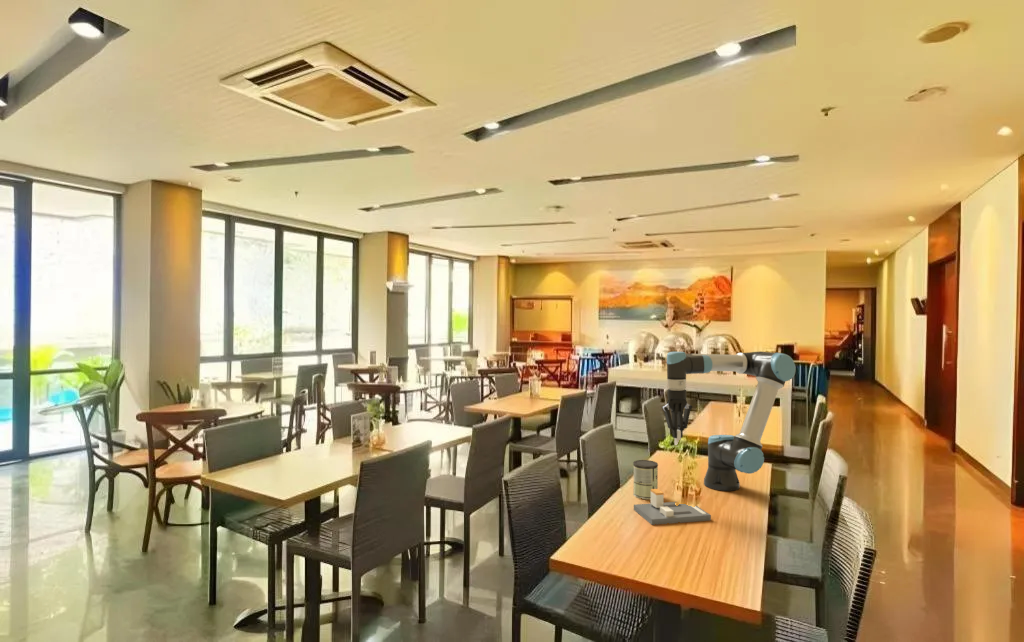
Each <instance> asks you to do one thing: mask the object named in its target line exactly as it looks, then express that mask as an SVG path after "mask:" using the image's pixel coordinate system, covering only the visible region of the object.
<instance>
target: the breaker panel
mask: <svg viewBox="0 0 1024 642" xmlns="http://www.w3.org/2000/svg"><path fill="white" fill-rule="evenodd" d="M675 502H676V501H668V502H663V507H660V508H656V507H654V506H653V505H652V504H651V502H650V503H640V504H639V503H638V504H637V503H636V504H633V511H635V512H636V513H637V514H638V515H639V514H640V517H642V518H643V519H644V520H645V521H647V522H648V523H649V524H650V525H652V526H654V525H655V524H656V525H667V523H669V524H681V523H693V522H706V521H711V520H712V519H711V517H712V515H711V514H710V513H709V512H707V511H705V510H704V509H702V508H701V507H699V506H698V505H696V506H695V507H692V506H688V505H686V504H679V505H678V506H676V505H675ZM678 522H680V523H678Z"/></svg>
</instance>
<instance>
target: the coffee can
mask: <svg viewBox="0 0 1024 642" xmlns="http://www.w3.org/2000/svg"><path fill="white" fill-rule="evenodd" d="M632 465H633V497H634V498H637V499H640V498H642V499H641V500H651V489H659V488H658V480H659V479H658V477H659V476H658V469H659V468H658V466H659V464H658V462H657V461H654V460H649V459H638V460H634V461H633V464H632Z"/></svg>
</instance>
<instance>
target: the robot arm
mask: <svg viewBox="0 0 1024 642" xmlns="http://www.w3.org/2000/svg"><path fill="white" fill-rule="evenodd" d="M796 369H797V368H796V363H795V362H794V360H793V358H792V357H791V356H790V355H788V354H786V353H782V352H771V351H770V352H769V351H749V352H737V353H736V354H719V353H717V354H715V353H714V354H713V353H711V354H710V353H686V352H685V351H668V352H667V354H666V375H667V378H666V379H667V380H666V382H667V383H666V384H667V388H668V389H667V390H666V391H667V401H666V404H665V405H663V406H661V409H662V411H663V412H664V413H663V414H664V416H665V421H666V424H667V428H668V429H669V430H672V438H673V440H674V442H673V443H674V446H675V445H677V444H678V442H679V440H681V441H682V438H683V435H684V434H683V431H685V429H687V428H688V424H689V419H690V414H691V410H692V408H693V405H691V404H690V403H688V401H687V390H686V389H687V375H690V374H691V375H693V374H708V373H710V372H735V373H737V374H740V375H743V374H744V375H749V376H754V377H755V379H756V381H757V383H756V387H755V390H754V393H753V395H752V397H751V401H750V404H749V406H748V409H747V412H746V415H745V417H744V420H743V424H742V426H741V429H740V431H739V433H738V434H735V435H731V434H713V435H710V436H709V437H708V441H707V465H708V466H707V468H706V469H707V470H706V473H705V475H704V478H703V485H704V486H705V487H706V488H709V489H713V490H715V491H716V490H717V491H724V492H733V491H738V490H739V489H740V488H741V487H740V480H739V476H738V474H737V471H738V472H739V473H744V474H755V473H757V472H758V471H759V470H760V469H761V468H762V467H763V464H764V462H765V456H764V452H763V451H762V449H763V444H762V442H761V440H762V438H763V437H762V436H763V435H764V431H765V429H766V426H767V424H768V420H769V417H770V414H771V411H772V409H773V406H774V404H775V400H776V398H777V395H778V392H779V390H780V389H782V388H784V387H785V384H786V382H789V381H790V380H792V379H793V378H794V376H795V375H796Z"/></svg>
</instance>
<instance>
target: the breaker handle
mask: <svg viewBox="0 0 1024 642" xmlns="http://www.w3.org/2000/svg"><path fill="white" fill-rule="evenodd" d="M664 493H665V492H663V491H661V490H660V489H659V488H658V489H651V499H650V503H651V504H652V505H653V506H654V507H656V508H660V507H663V503H664Z"/></svg>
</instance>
